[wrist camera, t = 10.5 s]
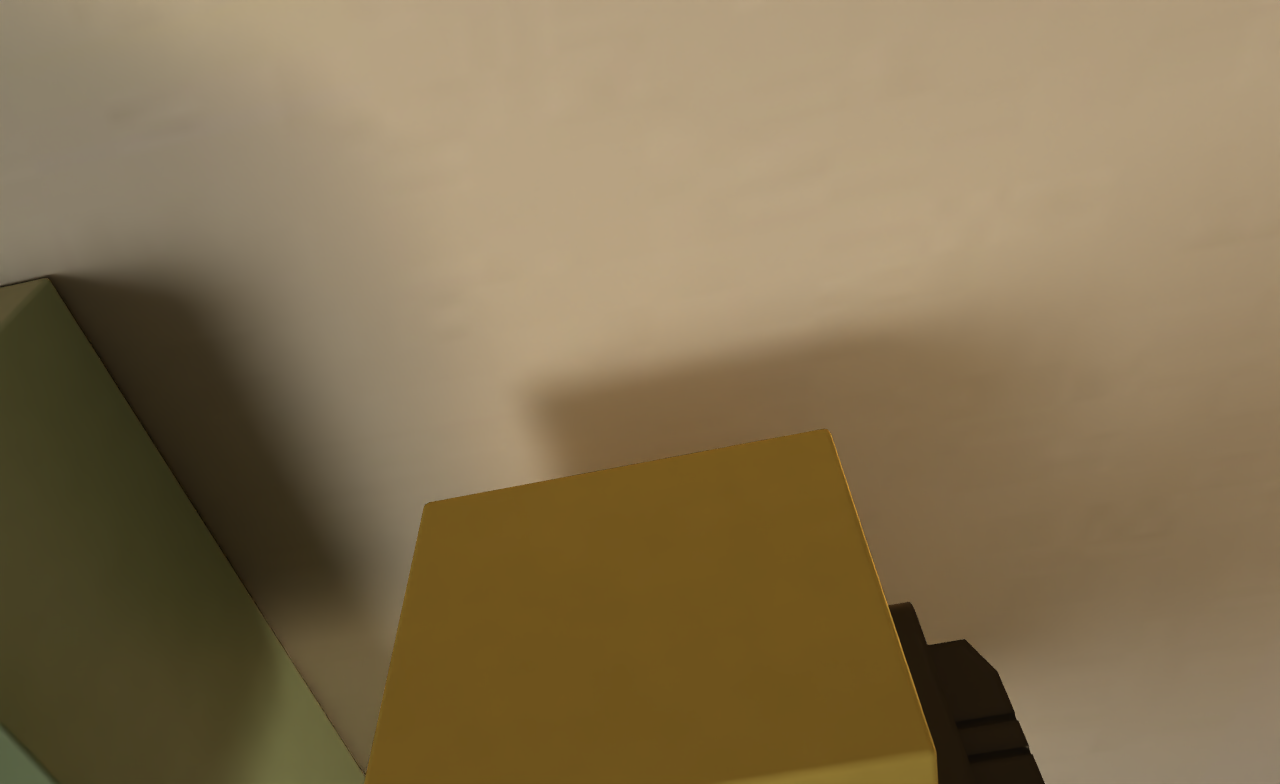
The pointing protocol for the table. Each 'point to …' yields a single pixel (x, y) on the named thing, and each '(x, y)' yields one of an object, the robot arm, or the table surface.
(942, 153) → the table surface
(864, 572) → the sponge
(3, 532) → the push button box
